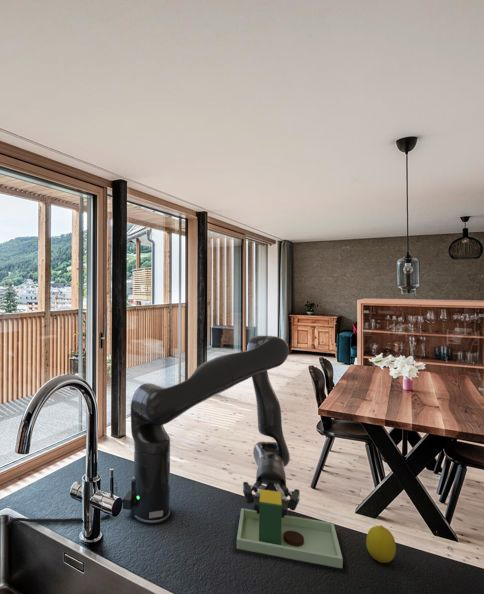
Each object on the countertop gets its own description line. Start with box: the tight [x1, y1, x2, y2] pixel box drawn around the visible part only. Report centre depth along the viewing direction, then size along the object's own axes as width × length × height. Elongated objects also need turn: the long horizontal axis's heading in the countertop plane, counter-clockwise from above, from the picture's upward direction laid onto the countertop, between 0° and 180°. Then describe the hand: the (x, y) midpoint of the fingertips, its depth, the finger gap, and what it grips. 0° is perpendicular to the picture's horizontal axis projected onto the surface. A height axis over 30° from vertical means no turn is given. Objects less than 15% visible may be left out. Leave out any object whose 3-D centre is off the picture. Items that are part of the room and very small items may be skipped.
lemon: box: [365, 525, 397, 564], centre depth 88 cm, size 6×6×8 cm
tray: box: [236, 507, 344, 569], centre depth 95 cm, size 22×14×3 cm, turn 73°
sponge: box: [259, 489, 282, 545], centre depth 95 cm, size 5×7×9 cm
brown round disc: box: [284, 531, 304, 546], centre depth 94 cm, size 4×4×1 cm
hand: (270, 511), depth 93 cm, fingers closed on sponge, 4 cm apart
